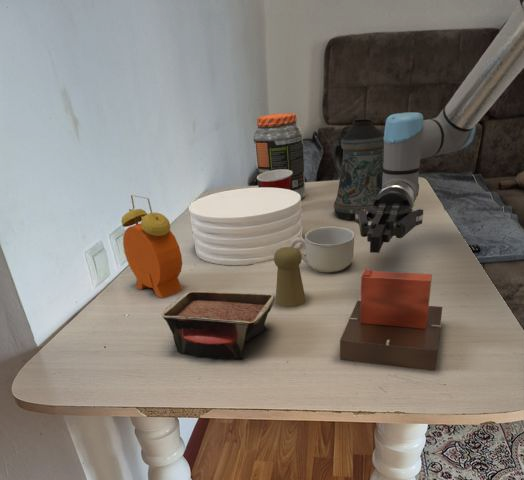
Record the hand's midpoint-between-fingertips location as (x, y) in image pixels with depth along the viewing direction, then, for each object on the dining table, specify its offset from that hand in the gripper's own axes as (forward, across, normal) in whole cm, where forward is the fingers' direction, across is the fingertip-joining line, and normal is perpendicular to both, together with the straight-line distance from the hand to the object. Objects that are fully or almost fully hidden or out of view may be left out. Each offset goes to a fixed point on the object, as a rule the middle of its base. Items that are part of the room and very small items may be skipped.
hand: (374, 244), depth 80 cm
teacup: (-21, +14, -14) cm, 29 cm away
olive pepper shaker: (-3, +16, -14) cm, 22 cm away
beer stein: (-63, +14, -14) cm, 66 cm away
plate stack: (-34, +38, -14) cm, 53 cm away
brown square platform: (+9, -5, -14) cm, 17 cm away
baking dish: (+14, +23, -14) cm, 30 cm away
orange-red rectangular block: (+9, -5, -10) cm, 14 cm away
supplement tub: (-80, +44, -14) cm, 92 cm away
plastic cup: (-63, +40, -14) cm, 76 cm away
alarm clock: (-5, +47, -14) cm, 50 cm away
